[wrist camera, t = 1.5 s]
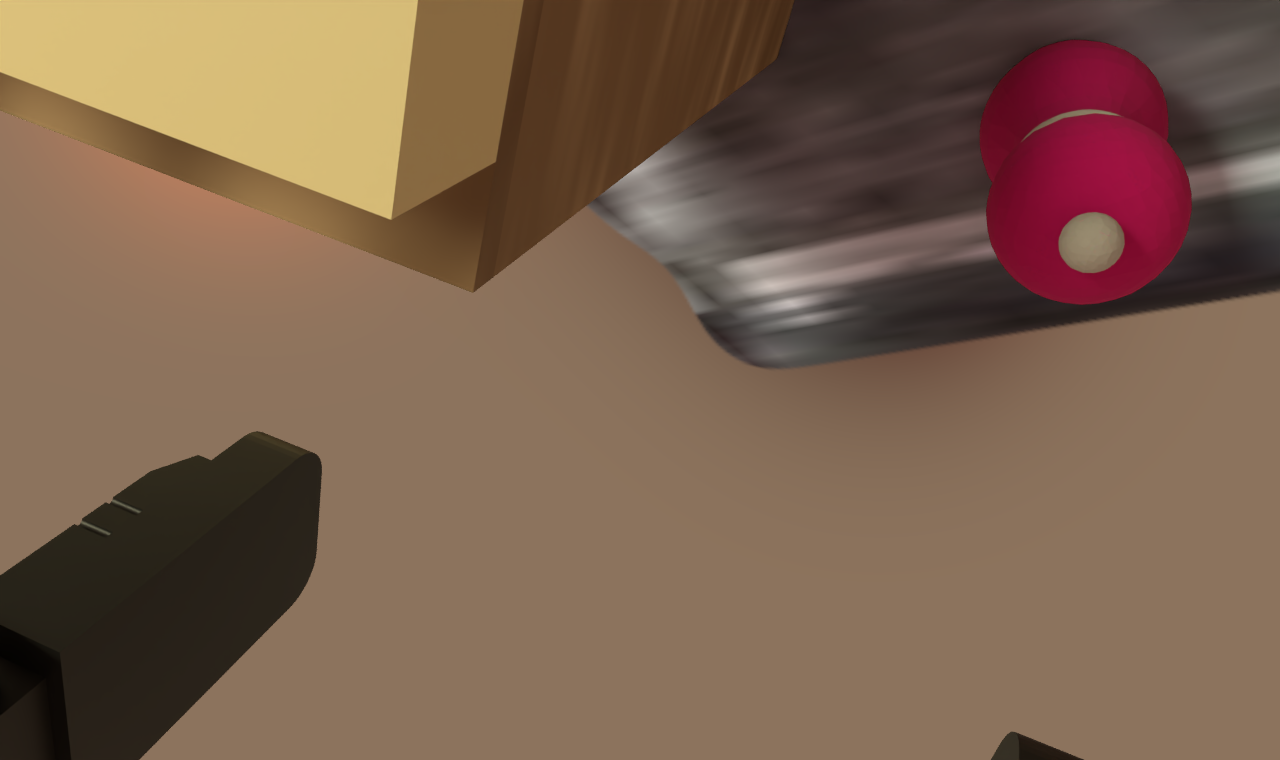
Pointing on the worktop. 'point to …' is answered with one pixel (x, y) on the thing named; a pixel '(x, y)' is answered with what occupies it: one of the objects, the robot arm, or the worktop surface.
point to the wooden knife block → (530, 136)
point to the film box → (289, 82)
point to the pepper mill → (1082, 174)
